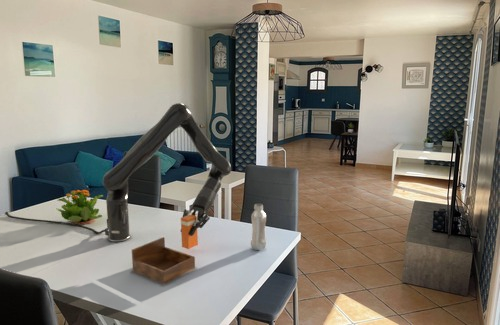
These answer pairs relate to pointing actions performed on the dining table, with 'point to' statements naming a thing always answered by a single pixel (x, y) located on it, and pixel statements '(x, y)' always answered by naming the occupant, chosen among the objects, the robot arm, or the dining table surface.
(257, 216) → the plastic bottle
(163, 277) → the drawer
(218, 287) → the dining table surface
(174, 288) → the dining table surface
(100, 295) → the dining table surface
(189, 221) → the packet
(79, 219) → the potted flower
